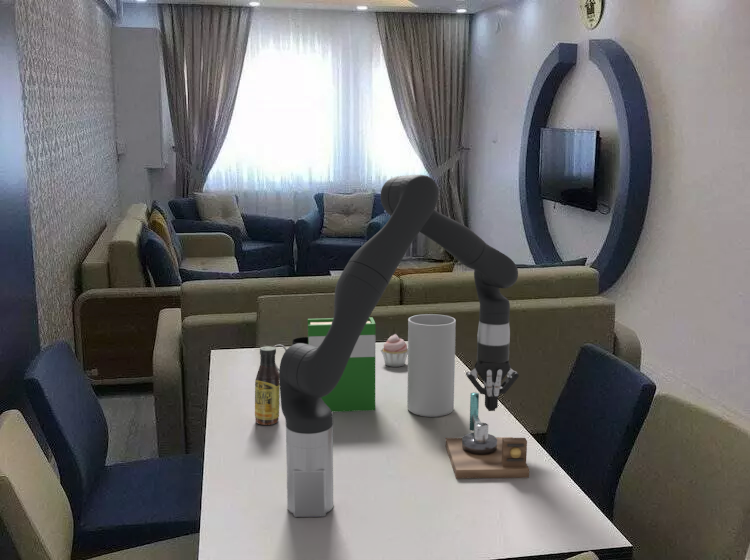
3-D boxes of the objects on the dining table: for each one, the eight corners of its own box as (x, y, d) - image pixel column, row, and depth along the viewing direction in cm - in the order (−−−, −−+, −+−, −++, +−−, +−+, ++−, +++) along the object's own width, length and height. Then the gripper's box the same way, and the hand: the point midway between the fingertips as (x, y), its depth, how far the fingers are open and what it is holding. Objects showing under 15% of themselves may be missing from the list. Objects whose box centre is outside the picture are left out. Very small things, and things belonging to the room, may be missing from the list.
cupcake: (414, 363, 257) (415, 333, 256) (400, 370, 250) (400, 339, 248) (390, 358, 262) (390, 329, 260) (375, 365, 255) (375, 335, 253)
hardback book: (309, 412, 213) (308, 325, 208) (308, 403, 220) (307, 318, 215) (375, 410, 214) (375, 323, 210) (372, 401, 222) (372, 317, 217)
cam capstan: (499, 454, 180) (501, 412, 178) (464, 454, 180) (465, 412, 178) (489, 431, 193) (490, 392, 192) (456, 431, 193) (457, 392, 191)
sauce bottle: (250, 423, 204) (248, 349, 201) (264, 416, 210) (262, 343, 206) (271, 428, 201) (269, 352, 198) (285, 420, 207) (283, 346, 203)
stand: (529, 478, 173) (530, 443, 171) (456, 479, 172) (457, 444, 171) (511, 445, 191) (513, 413, 190) (445, 445, 191) (446, 414, 189)
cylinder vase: (425, 398, 224) (426, 312, 219) (462, 408, 216) (464, 318, 211) (398, 410, 214) (398, 320, 209) (436, 421, 206) (437, 327, 202)
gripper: (469, 344, 184) (467, 416, 187) (525, 343, 185) (522, 414, 188) (462, 336, 191) (460, 405, 194) (516, 335, 192) (513, 403, 196)
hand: (491, 409), depth 191 cm, fingers closed
